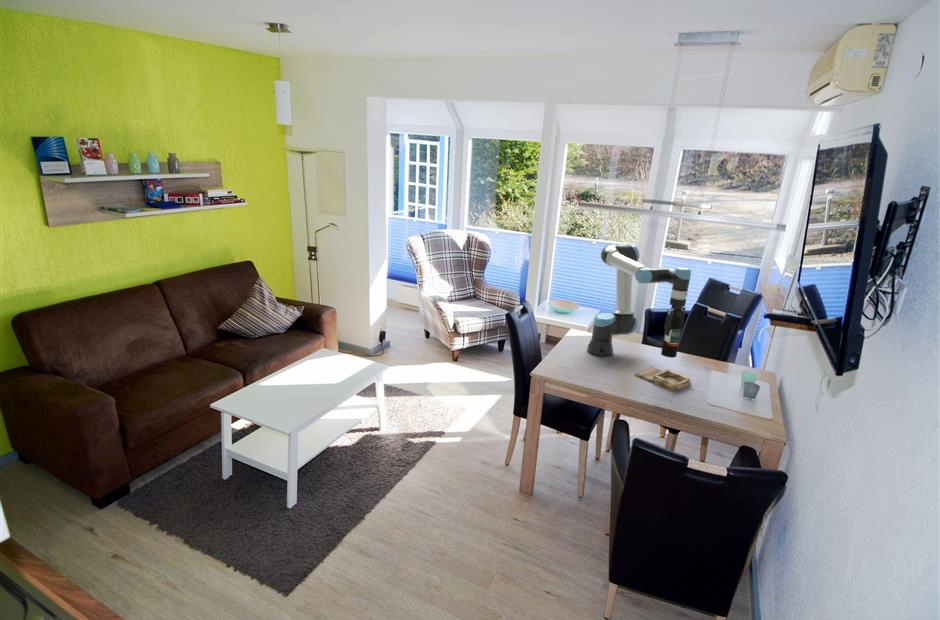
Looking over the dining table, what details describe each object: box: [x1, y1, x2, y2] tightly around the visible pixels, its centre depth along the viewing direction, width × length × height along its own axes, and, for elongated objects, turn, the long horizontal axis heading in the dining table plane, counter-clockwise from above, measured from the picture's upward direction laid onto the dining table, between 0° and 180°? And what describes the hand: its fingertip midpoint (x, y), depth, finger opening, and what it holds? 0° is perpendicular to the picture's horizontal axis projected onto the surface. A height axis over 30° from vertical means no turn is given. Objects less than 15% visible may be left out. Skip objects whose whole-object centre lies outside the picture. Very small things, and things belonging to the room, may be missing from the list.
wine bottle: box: [660, 307, 683, 358], centre depth 263 cm, size 8×8×30 cm
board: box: [634, 366, 692, 393], centre depth 272 cm, size 24×16×4 cm, turn 39°
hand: (671, 339), depth 265 cm, fingers closed on wine bottle, 7 cm apart
